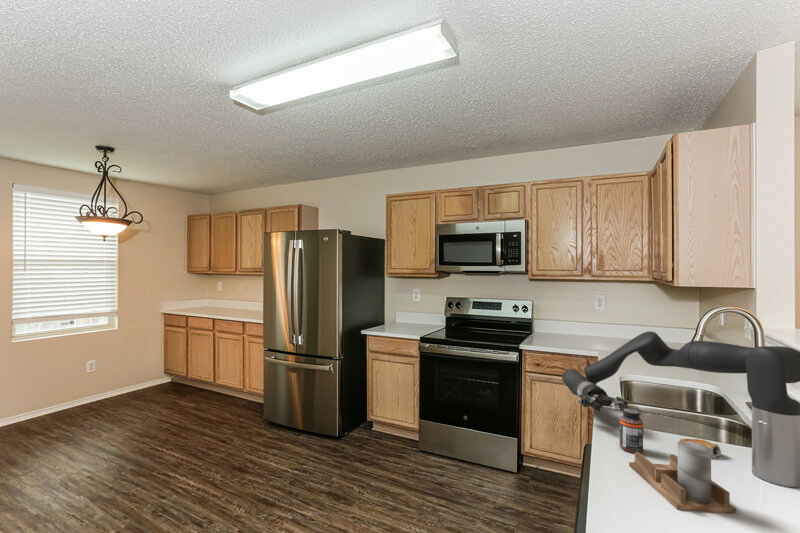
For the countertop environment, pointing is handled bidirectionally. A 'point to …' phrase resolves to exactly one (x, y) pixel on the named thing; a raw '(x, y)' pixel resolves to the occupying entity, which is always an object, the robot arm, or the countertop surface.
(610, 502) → the countertop surface
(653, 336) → the robot arm
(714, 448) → the pastry
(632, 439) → the supplement bottle
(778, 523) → the countertop surface
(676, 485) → the rail rack
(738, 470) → the countertop surface
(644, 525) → the countertop surface
